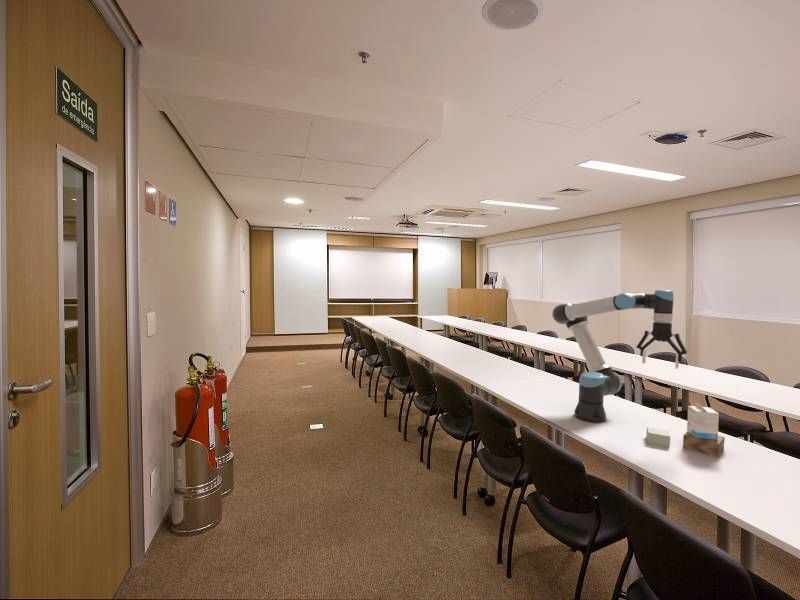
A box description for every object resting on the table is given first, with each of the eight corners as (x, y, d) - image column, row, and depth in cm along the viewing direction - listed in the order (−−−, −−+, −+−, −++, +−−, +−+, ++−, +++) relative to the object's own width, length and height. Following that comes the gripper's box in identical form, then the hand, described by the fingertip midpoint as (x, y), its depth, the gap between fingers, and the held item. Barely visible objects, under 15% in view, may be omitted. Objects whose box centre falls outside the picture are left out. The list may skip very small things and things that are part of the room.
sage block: (647, 443, 171) (648, 432, 171) (646, 437, 178) (646, 426, 178) (669, 447, 167) (670, 436, 167) (667, 441, 174) (667, 430, 174)
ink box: (718, 440, 161) (720, 409, 161) (694, 438, 164) (697, 407, 163) (708, 433, 170) (710, 403, 169) (686, 430, 172) (688, 401, 171)
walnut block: (682, 448, 167) (683, 434, 167) (689, 441, 175) (690, 428, 175) (717, 458, 158) (718, 444, 158) (723, 450, 166) (724, 437, 166)
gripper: (631, 320, 191) (628, 362, 192) (693, 325, 173) (690, 371, 174) (635, 319, 196) (633, 360, 197) (696, 324, 178) (693, 369, 179)
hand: (659, 365), depth 186 cm, fingers open, 13 cm apart
